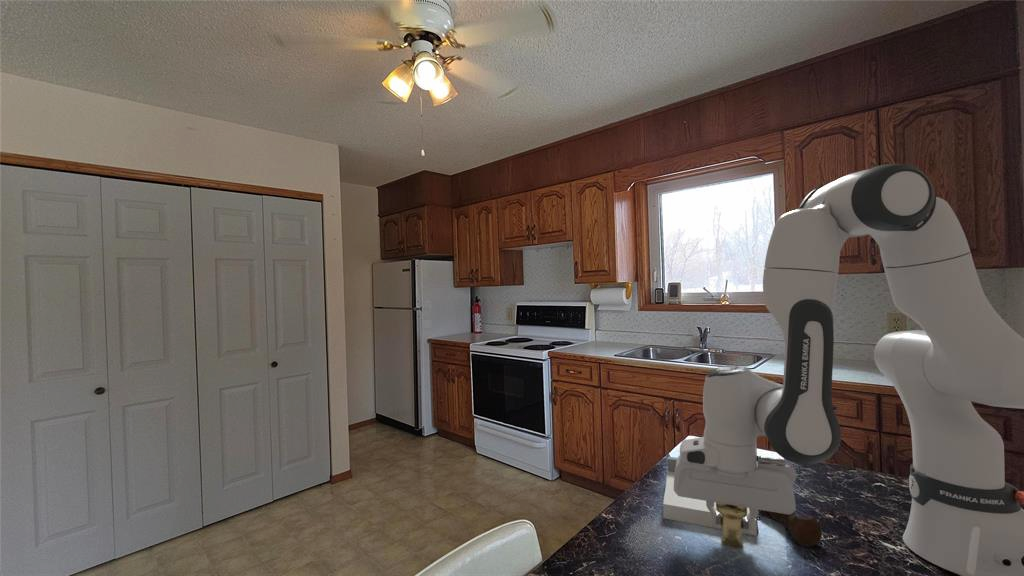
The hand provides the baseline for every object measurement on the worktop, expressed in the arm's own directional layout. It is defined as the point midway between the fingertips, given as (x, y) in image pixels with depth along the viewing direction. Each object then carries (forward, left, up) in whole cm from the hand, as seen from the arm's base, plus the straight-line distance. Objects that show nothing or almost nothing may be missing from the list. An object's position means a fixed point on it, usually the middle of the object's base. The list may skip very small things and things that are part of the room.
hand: (731, 525), depth 79 cm
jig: (+4, -13, -3) cm, 14 cm away
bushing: (0, 0, -3) cm, 3 cm away
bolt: (-10, -11, -4) cm, 15 cm away
